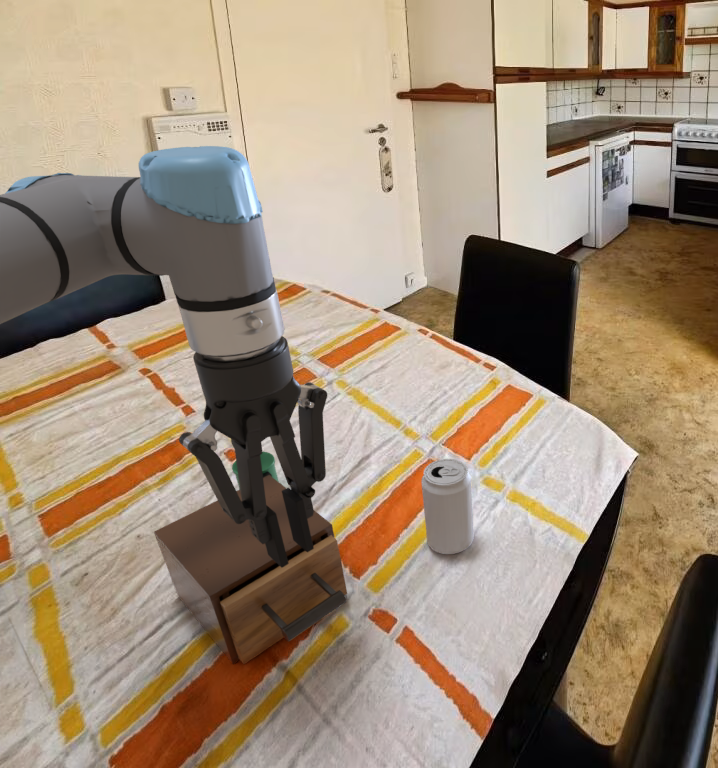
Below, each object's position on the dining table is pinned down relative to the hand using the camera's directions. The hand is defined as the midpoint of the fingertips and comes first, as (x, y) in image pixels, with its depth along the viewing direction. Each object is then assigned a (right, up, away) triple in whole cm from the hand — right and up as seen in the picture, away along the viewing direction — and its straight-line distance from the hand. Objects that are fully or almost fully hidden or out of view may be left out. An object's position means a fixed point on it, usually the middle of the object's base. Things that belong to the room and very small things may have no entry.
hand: (291, 551), depth 64 cm
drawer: (-5, -10, +11) cm, 15 cm away
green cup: (-16, +1, +32) cm, 36 cm away
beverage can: (+14, -5, +22) cm, 26 cm away
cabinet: (-9, -9, +14) cm, 19 cm away
